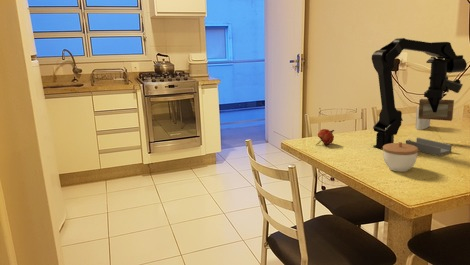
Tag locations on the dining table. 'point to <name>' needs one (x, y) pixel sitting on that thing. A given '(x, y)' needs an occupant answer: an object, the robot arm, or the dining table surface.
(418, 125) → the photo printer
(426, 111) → the brown flat block
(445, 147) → the display ledge
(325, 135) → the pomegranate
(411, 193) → the dining table surface
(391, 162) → the lidded jar
